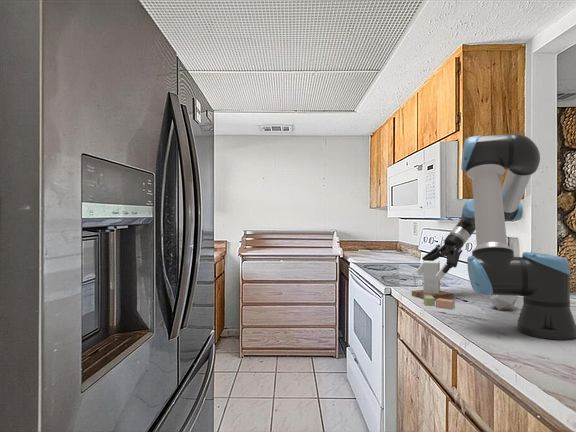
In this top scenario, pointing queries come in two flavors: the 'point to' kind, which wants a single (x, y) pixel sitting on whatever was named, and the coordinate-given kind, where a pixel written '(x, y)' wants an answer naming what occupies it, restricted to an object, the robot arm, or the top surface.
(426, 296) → the olive brick
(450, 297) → the walnut slab
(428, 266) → the small box
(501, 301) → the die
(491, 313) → the top surface
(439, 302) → the terracotta brick
